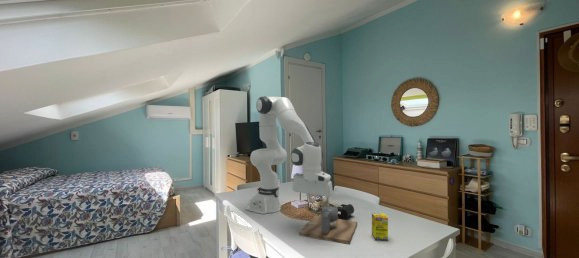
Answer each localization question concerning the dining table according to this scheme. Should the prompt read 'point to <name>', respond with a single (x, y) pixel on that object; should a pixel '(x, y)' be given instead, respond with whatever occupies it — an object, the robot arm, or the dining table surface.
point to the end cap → (345, 211)
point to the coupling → (328, 217)
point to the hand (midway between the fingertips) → (311, 202)
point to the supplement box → (380, 226)
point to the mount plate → (330, 230)
